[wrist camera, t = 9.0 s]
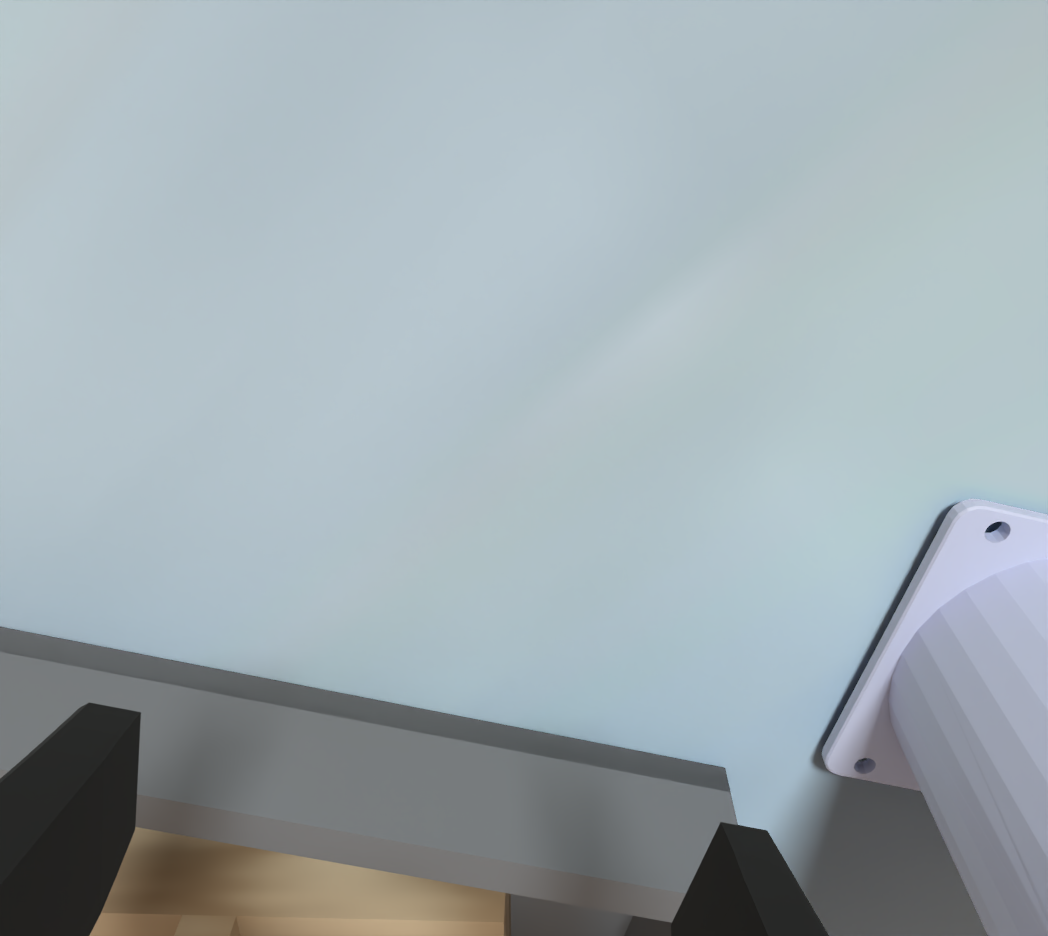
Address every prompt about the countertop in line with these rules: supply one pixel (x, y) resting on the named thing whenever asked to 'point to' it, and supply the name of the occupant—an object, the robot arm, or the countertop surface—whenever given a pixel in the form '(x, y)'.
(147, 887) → the pine crate
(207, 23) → the countertop surface
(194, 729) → the charcoal crate
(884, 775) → the robot arm
